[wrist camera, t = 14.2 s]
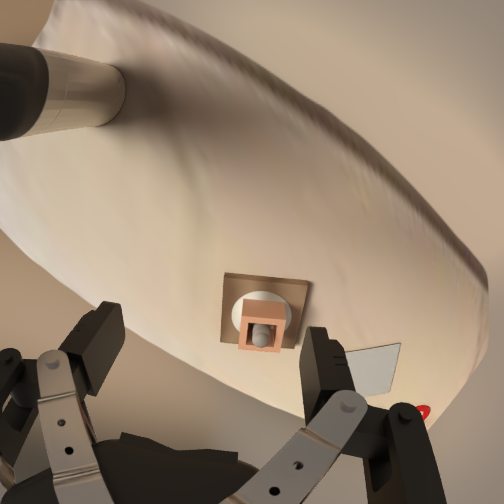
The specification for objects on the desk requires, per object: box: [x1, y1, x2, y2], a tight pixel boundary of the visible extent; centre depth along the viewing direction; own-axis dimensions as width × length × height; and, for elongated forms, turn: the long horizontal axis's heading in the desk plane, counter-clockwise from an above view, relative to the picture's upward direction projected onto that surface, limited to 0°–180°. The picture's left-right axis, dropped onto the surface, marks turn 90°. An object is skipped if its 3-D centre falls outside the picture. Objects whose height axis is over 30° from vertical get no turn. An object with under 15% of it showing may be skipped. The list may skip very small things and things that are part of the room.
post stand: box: [220, 273, 308, 349], centre depth 44 cm, size 12×12×8 cm
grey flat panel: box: [345, 343, 400, 397], centre depth 51 cm, size 23×25×1 cm
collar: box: [238, 298, 286, 353], centre depth 44 cm, size 6×6×4 cm
